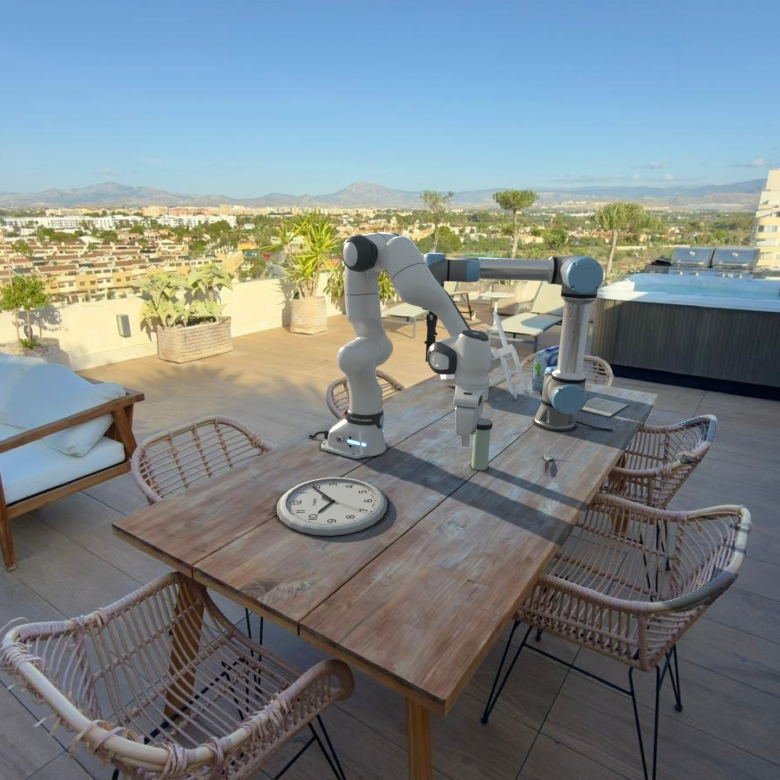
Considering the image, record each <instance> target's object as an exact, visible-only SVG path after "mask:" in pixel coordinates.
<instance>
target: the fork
mask: <svg viewBox="0 0 780 780" xmlns="http://www.w3.org/2000/svg"><path fill="white" fill-rule="evenodd" d="M553 451H554V450H553V448H552V451H551V449H549V451H547V450H545V452H544V455H543V459H545V460H546V461H545V463H544V473H547V470H548V468H549V461H551V460H553Z"/></svg>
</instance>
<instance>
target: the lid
mask: <svg viewBox="0 0 780 780" xmlns="http://www.w3.org/2000/svg"><path fill="white" fill-rule="evenodd" d="M476 429H478V430H490V431H491V430H492V429H493V421H492V420H491V419H490V418H489V419H488V418H481V417H480V418H479V420H478V422H477V426H476Z"/></svg>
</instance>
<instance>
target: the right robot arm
mask: <svg viewBox="0 0 780 780" xmlns="http://www.w3.org/2000/svg"><path fill="white" fill-rule="evenodd" d="M423 258H424V260H425V262H426V264H427V266H428V268H429V270H430V272H431V273H432V275H433V276H434V278H435V279H436V280H437V282H438V283H439V284H440V285H441V286H442V287H443V288H444V289H445V282H447V283H449V282H452V283H453V282H457V283H468V284H470V283H477V282H479V281H480V280H495V281H497V280H499V281H500V280H501V281H526V282H527V281H531V282H546V283H547V284H548V285H557V286H561V289H560V298H561V299H562V300H563V303H564V305H563V313H562V322H561V330H560V339H559V355H558V364H557V366H553V367H547V368H546V369H545V373H544V382H543V392H542V394H541V402H540V405H539V406H538V410H537V411H536V413H535V416H534V424H535V425H536V426H537V427H539V428H542V429H544V430H549V431H556V432H567V431H572V430H574V429H575V428H576V424H578V425H581V426H584V427H588V428H592V429H595V430H599V431H608V432H613V428H607V427H599V426H595V425H592V424H588V423H585V422H581V421H579V420H578V421H577V420H576V418H575V417H576V416H575V414H576V413H579V412H580V411H582V410H581V409H582V408H583V407H584V406H585V404H586V401H588V397H587V392H586V389H585V388H586V383H587V382H586V381H587V375H586V374H585V373H584V371H583V369H584V361H585V355H586V347H587V339H588V338H587V337H588V330H589V324H590V318H591V317H590V316H591V308H592V303H593V302H594V301H596V300H597V298H598V294H599V293H598V291H599V288H601V285H602V284H603V281H604V269H603V267H602V265H601V264H600V262H599V261H597V260H596V259H595V258H594V257H592V256H587V255H581V254H574V255H573V254H572V255H565V256H551V257H549V258H548V259H545V258H544V259H543V258H542V259H541V258H540V259H539V258H501V257H500V258H497V257H496V258H495V257H494V258H492V257H466V256H460V257H457V258H455V259H451V258H449V259H448V258H447V257H446V253H444V252H427V253H425V254H424V255H423ZM421 309H422V310H423V311H428V313H426V316H425V320H426V340H424V342H423V343H424V344H425V362H426V363H428V361H427V352H428V349H429V347H430V345H431V344H432V343H434V342H436V338H437V337H436V336H438V332H437V329H436V328H437V324H438V319H439V317H438V316H437V315H436V314H434V313H433V312H431V311H429V310H427V309H424V308H421Z"/></svg>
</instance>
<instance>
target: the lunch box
mask: <svg viewBox="0 0 780 780" xmlns="http://www.w3.org/2000/svg"><path fill="white" fill-rule="evenodd" d="M559 346H560V344H559V345H553V346H550V347H546V348H545V349H542V350H539V351H538V352H537V353H536V354H535V356H534V358H533V365H532V376H531V377H532V378H531V390H532V391H533V392H537V393H542V392H543V382H544V373H545V369H546V368H547V367H553V366H557V364H558V355H559Z"/></svg>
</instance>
